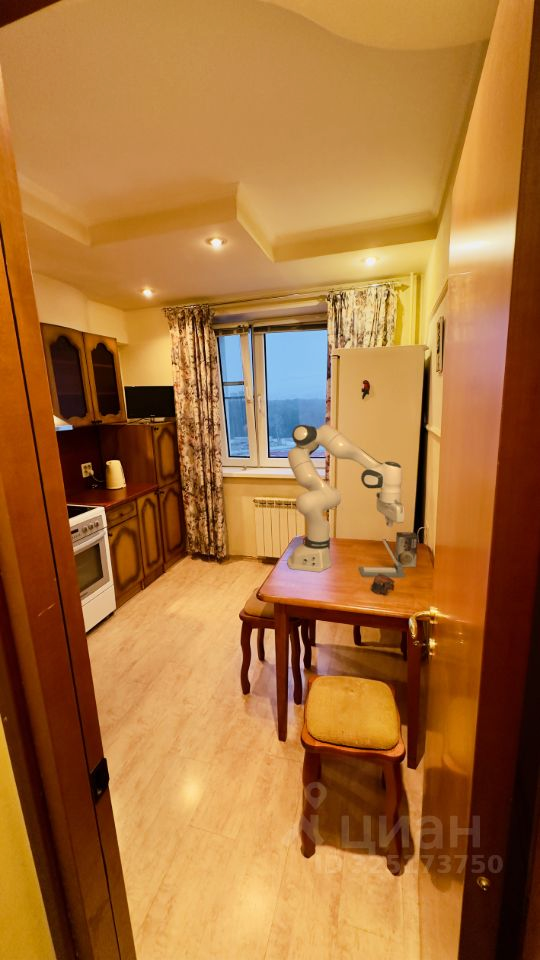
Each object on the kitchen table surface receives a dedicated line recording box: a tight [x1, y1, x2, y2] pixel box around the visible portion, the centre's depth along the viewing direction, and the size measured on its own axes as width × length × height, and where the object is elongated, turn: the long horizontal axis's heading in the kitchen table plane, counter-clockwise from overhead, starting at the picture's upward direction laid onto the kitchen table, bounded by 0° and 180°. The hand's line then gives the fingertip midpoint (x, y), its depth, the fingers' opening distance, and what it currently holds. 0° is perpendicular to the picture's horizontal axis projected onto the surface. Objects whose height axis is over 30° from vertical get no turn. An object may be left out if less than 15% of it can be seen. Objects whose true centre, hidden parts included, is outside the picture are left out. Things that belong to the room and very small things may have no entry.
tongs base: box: [358, 561, 406, 579], centre depth 174 cm, size 20×8×4 cm, turn 86°
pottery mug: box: [370, 573, 395, 595], centre depth 158 cm, size 12×10×8 cm
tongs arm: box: [381, 538, 400, 567], centre depth 171 cm, size 16×3×2 cm
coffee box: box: [394, 531, 419, 568], centre depth 181 cm, size 9×6×16 cm
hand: (389, 526), depth 168 cm, fingers closed
